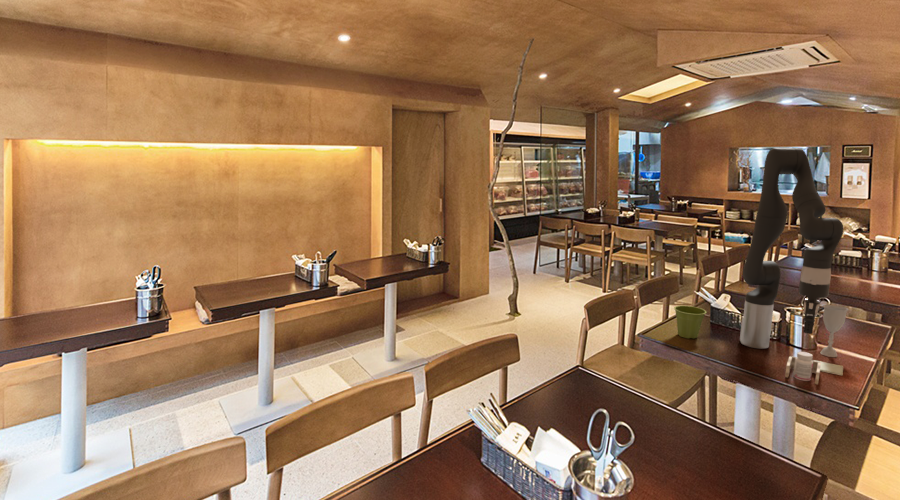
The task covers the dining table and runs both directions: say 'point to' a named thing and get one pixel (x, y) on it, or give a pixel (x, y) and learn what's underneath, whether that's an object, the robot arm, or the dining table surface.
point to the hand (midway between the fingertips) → (808, 329)
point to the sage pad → (831, 368)
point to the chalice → (833, 325)
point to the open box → (814, 370)
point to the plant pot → (689, 320)
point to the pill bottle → (803, 366)
